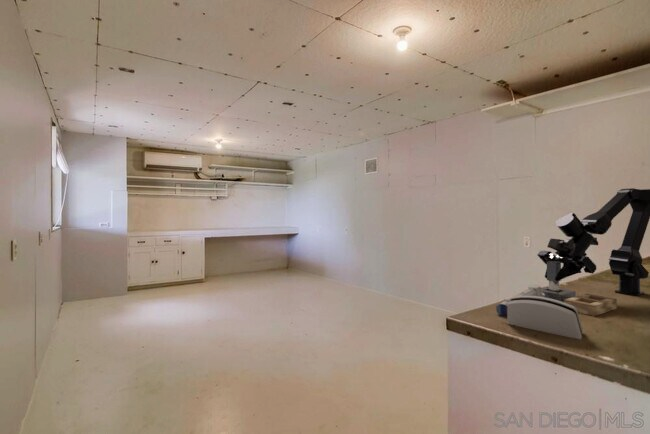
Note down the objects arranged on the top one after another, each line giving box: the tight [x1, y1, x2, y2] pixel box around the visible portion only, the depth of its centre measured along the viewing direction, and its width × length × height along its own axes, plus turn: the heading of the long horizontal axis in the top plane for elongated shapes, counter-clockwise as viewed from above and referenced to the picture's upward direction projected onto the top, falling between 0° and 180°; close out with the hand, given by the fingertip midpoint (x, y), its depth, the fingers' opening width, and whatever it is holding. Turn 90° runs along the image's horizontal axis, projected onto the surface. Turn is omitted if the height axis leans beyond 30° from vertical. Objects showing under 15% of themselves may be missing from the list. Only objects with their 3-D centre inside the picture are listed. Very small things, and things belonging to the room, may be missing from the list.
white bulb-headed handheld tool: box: [495, 283, 545, 317], centre depth 106 cm, size 5×7×25 cm
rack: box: [564, 293, 618, 317], centre depth 103 cm, size 14×8×3 cm, turn 118°
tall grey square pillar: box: [546, 261, 562, 292], centre depth 115 cm, size 3×3×13 cm
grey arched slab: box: [506, 296, 584, 340], centre depth 87 cm, size 17×5×10 cm, turn 43°
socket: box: [541, 285, 577, 302], centre depth 115 cm, size 9×9×3 cm
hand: (550, 278), depth 115 cm, fingers closed on tall grey square pillar, 4 cm apart
